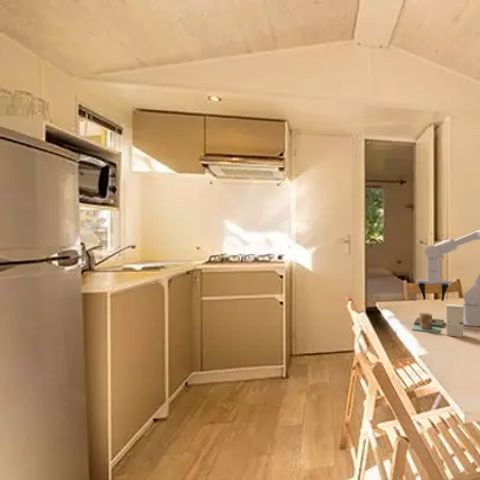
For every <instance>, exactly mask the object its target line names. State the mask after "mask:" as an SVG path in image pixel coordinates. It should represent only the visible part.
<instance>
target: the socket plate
mask: <svg viewBox="0 0 480 480" xmlns="http://www.w3.org/2000/svg"><path fill="white" fill-rule="evenodd" d="M413 323H414V324H413V326H414V325H417V326H420V317H416V319H415V321H414V322H413ZM444 323H445V320H444V319H440V318H439V319H438V318H432V327H437V328H440V329H441V328H443V325H444Z"/></svg>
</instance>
